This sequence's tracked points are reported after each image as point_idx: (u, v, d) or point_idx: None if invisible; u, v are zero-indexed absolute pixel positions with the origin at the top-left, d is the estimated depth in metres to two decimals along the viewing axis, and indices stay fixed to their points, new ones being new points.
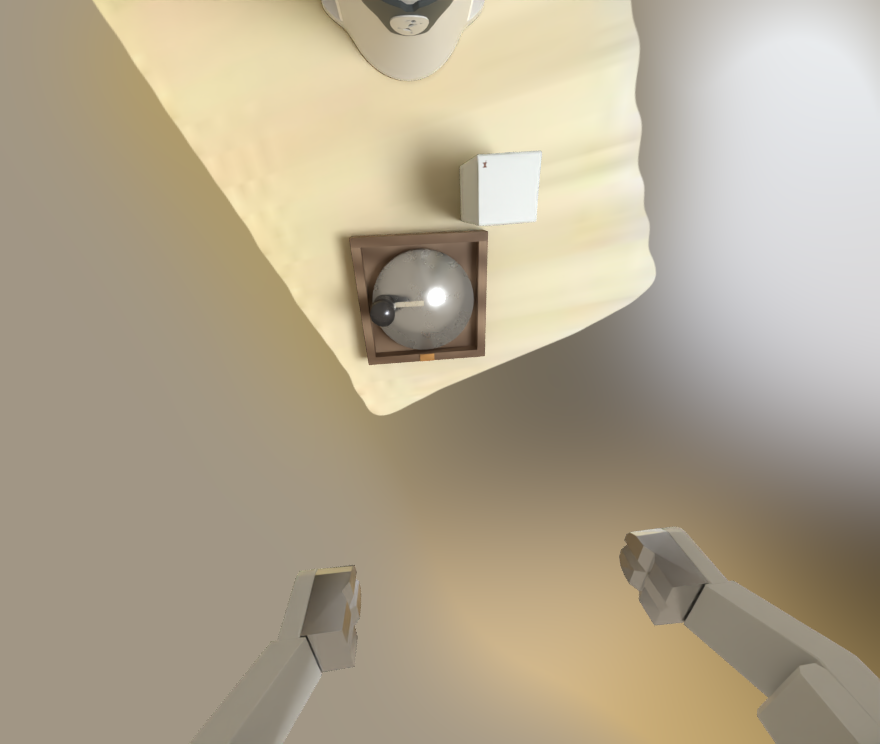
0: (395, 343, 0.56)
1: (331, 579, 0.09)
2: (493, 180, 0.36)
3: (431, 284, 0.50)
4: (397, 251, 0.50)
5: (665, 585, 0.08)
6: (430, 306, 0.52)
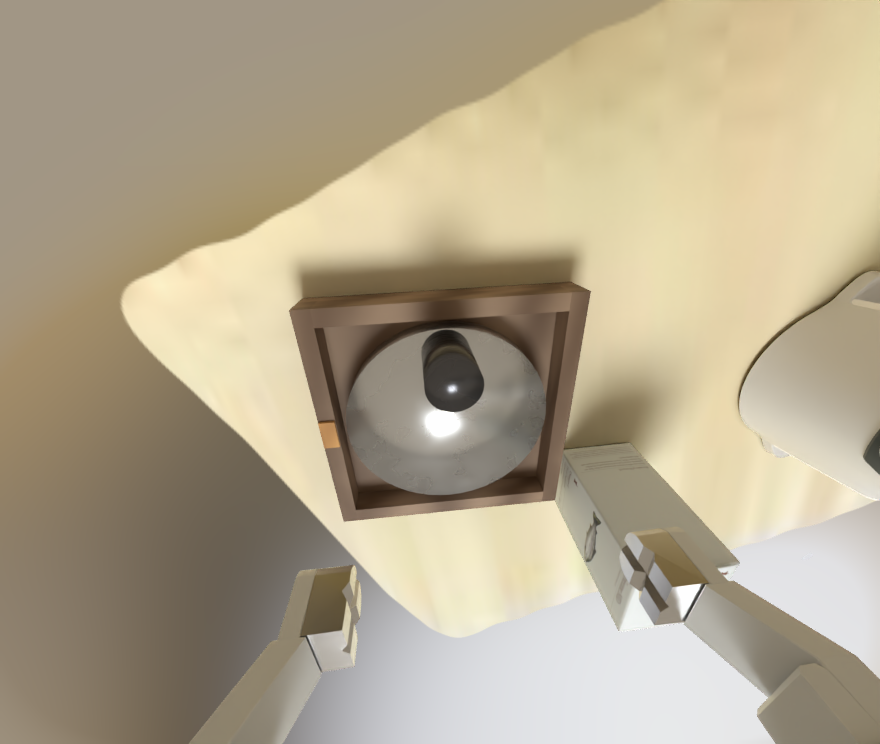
0: (349, 360, 0.25)
1: (331, 579, 0.09)
2: None
3: (482, 433, 0.27)
4: (537, 367, 0.27)
5: (665, 585, 0.08)
6: (441, 434, 0.27)
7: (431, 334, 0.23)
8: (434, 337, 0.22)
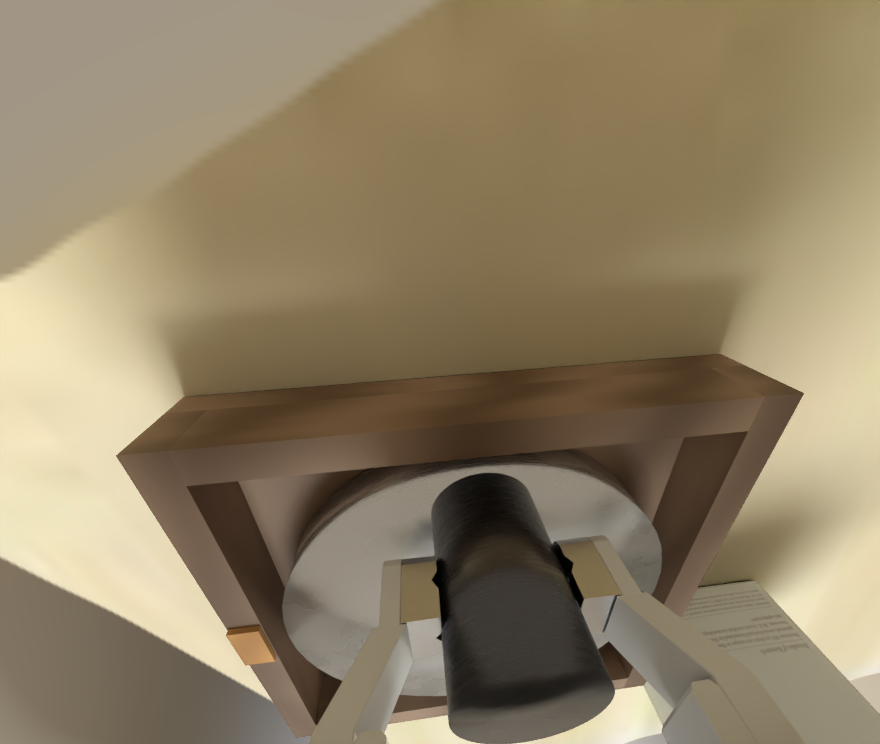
0: (288, 506, 0.13)
1: (418, 569, 0.09)
2: None
3: None
4: (639, 500, 0.15)
5: (581, 596, 0.08)
6: None
7: (453, 482, 0.10)
8: (462, 501, 0.10)
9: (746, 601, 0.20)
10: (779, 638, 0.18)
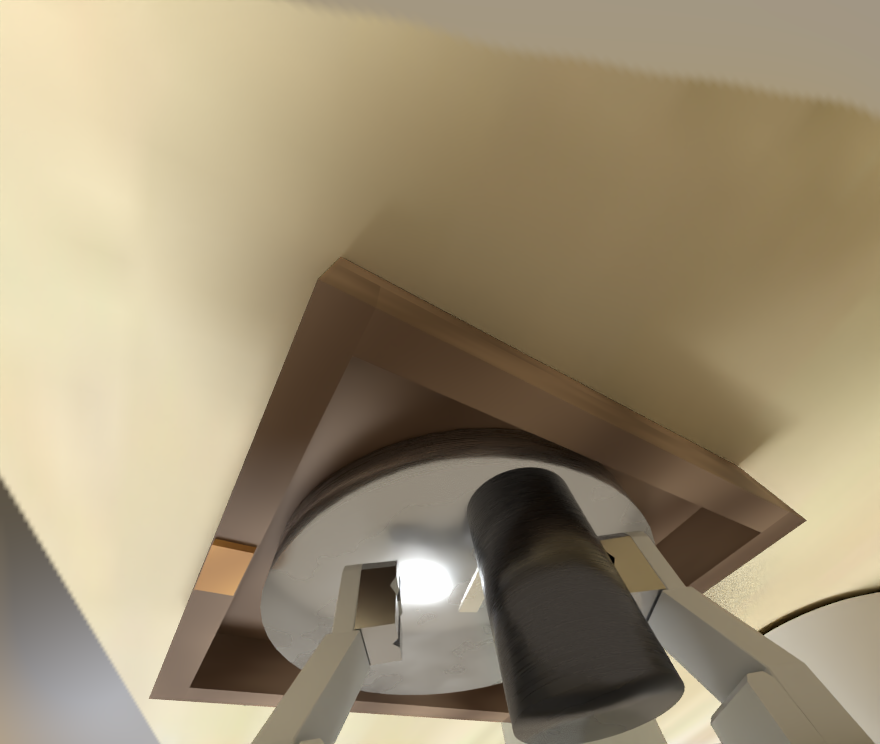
0: (359, 429, 0.11)
1: (378, 573, 0.09)
2: None
3: None
4: None
5: None
6: (447, 622, 0.14)
7: (505, 471, 0.10)
8: (521, 491, 0.09)
9: None
10: None
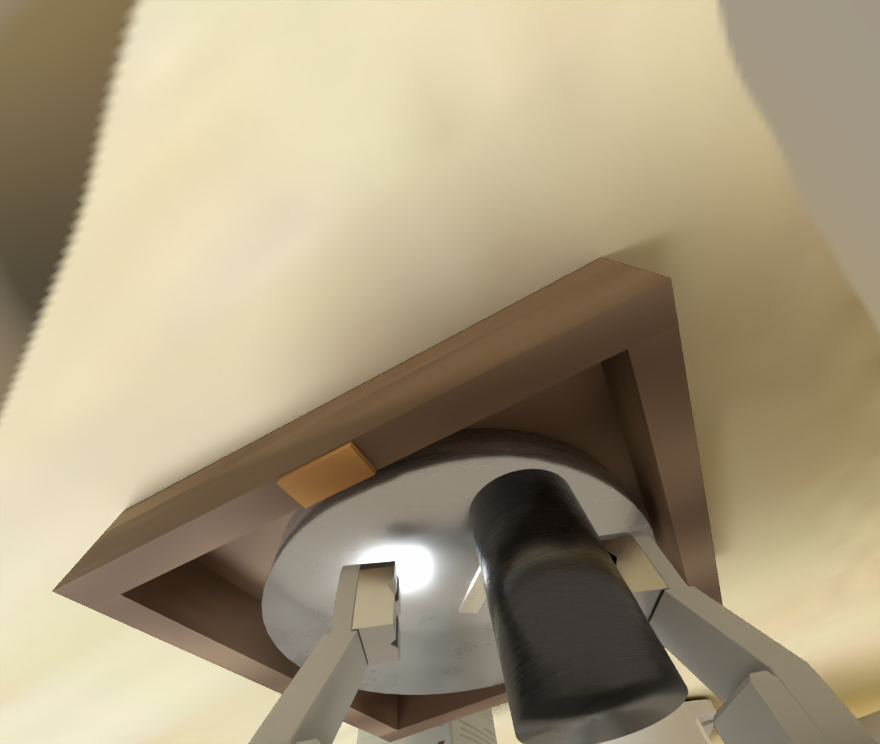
0: None
1: (376, 574, 0.09)
2: None
3: None
4: None
5: None
6: (447, 622, 0.14)
7: (509, 472, 0.10)
8: (525, 492, 0.09)
9: (484, 712, 0.24)
10: None
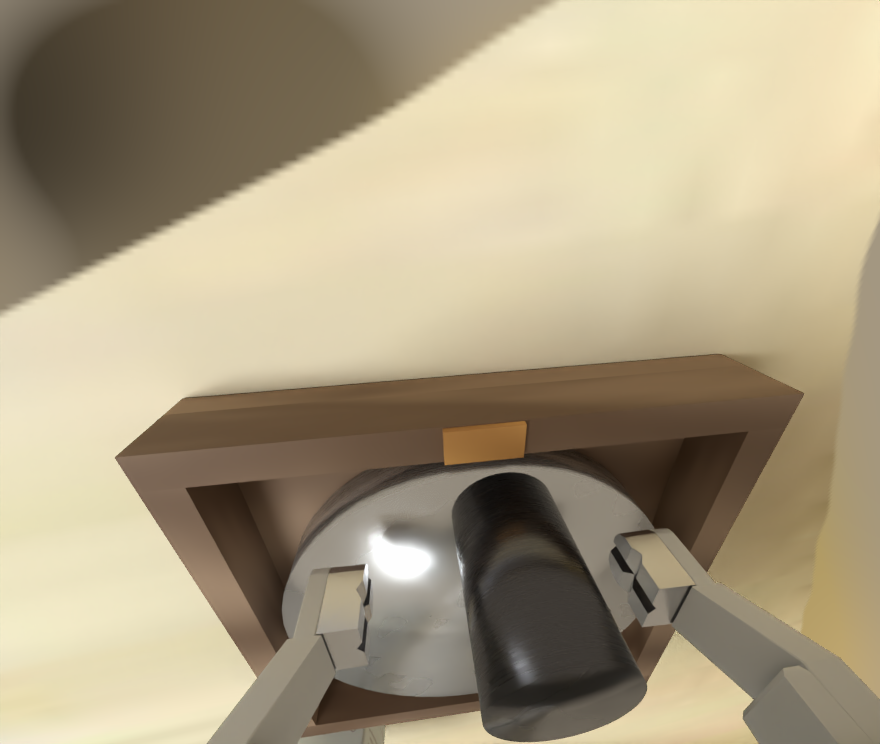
0: None
1: (345, 577, 0.09)
2: None
3: None
4: None
5: (652, 587, 0.08)
6: (462, 625, 0.14)
7: (480, 479, 0.10)
8: (492, 498, 0.10)
9: (381, 728, 0.23)
10: None
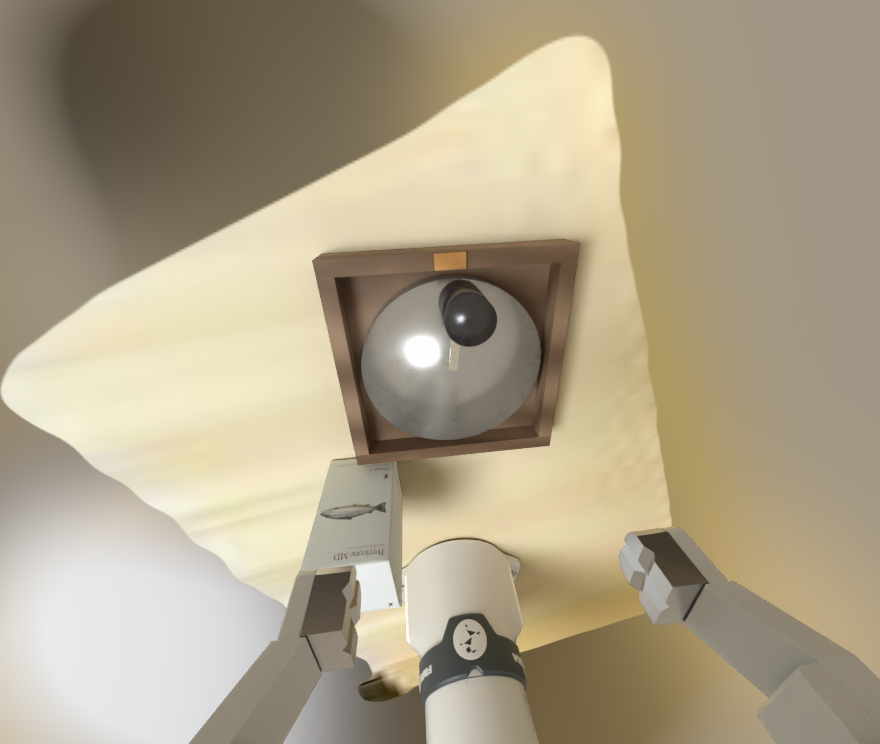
0: (510, 278, 0.28)
1: (331, 579, 0.09)
2: (376, 597, 0.28)
3: (482, 383, 0.30)
4: None
5: (665, 586, 0.08)
6: (445, 379, 0.29)
7: (449, 282, 0.25)
8: (453, 284, 0.25)
9: (401, 493, 0.38)
10: (401, 507, 0.37)
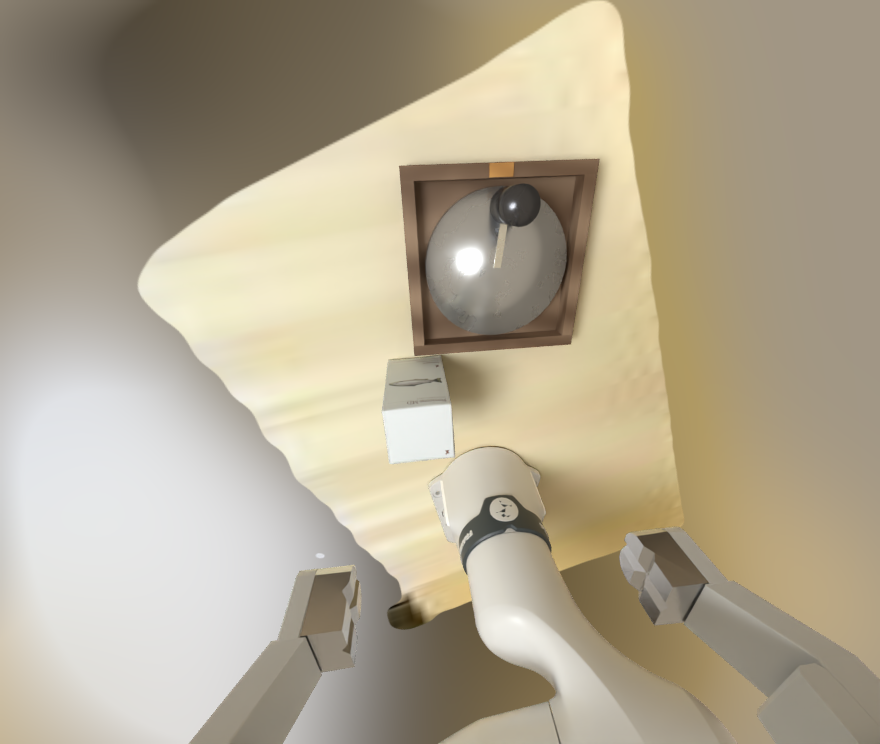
0: (543, 192, 0.35)
1: (331, 579, 0.09)
2: (437, 442, 0.35)
3: (519, 281, 0.38)
4: None
5: (665, 586, 0.08)
6: (490, 276, 0.37)
7: (499, 188, 0.33)
8: (503, 187, 0.32)
9: None
10: None
